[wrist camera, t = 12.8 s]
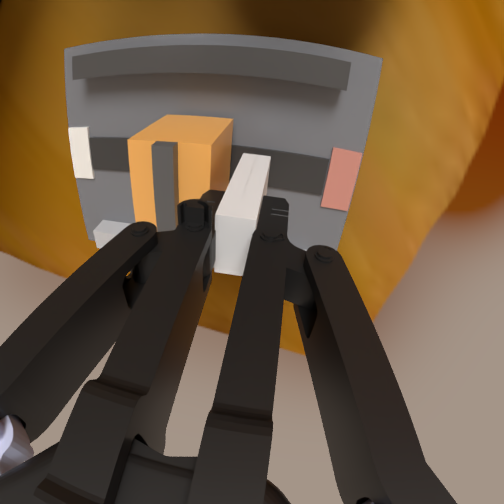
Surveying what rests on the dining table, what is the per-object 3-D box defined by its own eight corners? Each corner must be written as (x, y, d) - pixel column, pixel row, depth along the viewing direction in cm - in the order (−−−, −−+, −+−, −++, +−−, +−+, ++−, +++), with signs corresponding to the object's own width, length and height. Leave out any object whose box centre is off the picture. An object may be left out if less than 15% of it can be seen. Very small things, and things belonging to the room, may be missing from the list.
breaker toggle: (169, 201, 20) (134, 251, 16) (167, 114, 17) (121, 144, 12) (227, 209, 20) (205, 263, 16) (233, 118, 17) (207, 149, 12)
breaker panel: (109, 215, 28) (79, 250, 23) (95, 44, 18) (49, 51, 13) (325, 247, 26) (328, 292, 22) (367, 56, 17) (390, 59, 12)
